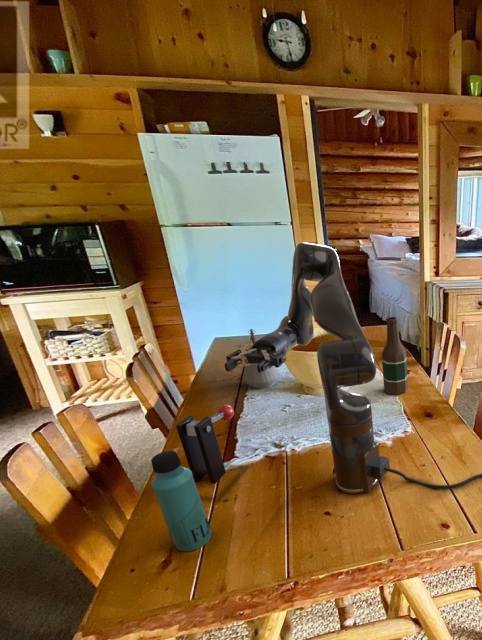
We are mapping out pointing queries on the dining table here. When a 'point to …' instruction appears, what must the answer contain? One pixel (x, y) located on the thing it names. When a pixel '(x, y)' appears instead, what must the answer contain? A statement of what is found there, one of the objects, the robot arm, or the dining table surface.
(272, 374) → the coffee pot
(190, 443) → the tap bracket
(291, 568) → the dining table surface
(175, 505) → the beverage bottle
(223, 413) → the tap lever
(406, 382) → the beer bottle
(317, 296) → the robot arm
